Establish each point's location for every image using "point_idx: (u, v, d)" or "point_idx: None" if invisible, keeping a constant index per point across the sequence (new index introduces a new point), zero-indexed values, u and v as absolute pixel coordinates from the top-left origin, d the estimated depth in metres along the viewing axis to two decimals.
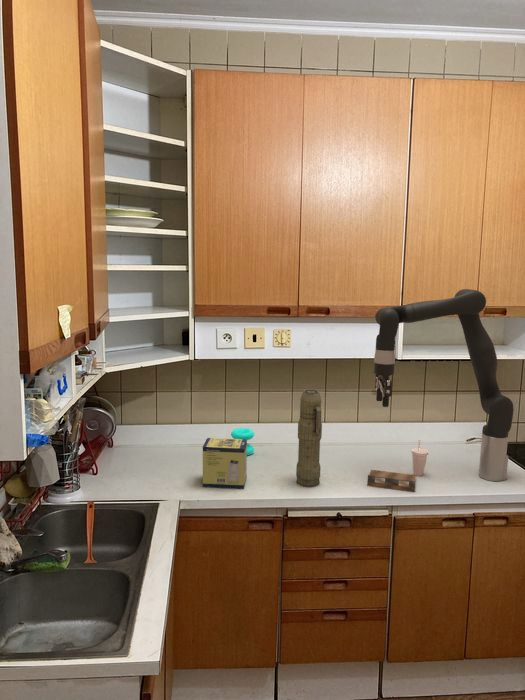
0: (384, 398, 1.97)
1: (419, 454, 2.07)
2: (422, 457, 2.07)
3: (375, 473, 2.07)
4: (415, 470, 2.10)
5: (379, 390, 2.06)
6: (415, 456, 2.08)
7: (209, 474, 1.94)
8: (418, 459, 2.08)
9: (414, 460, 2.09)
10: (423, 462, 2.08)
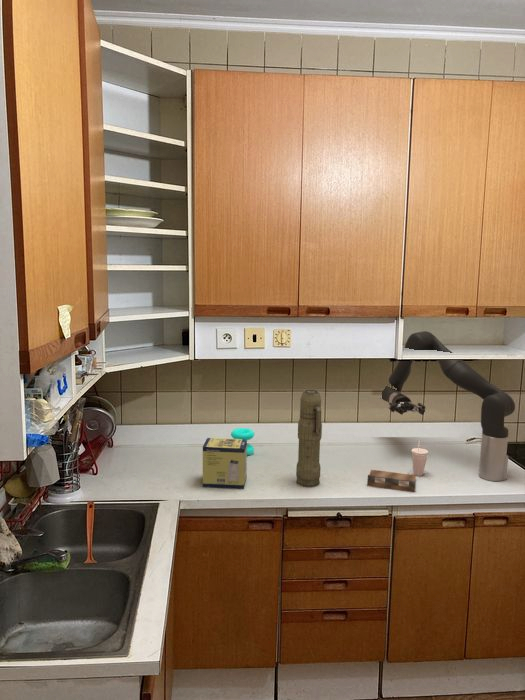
0: (397, 411, 2.22)
1: (419, 454, 2.07)
2: (422, 457, 2.07)
3: (375, 473, 2.07)
4: (415, 470, 2.10)
5: (418, 409, 2.23)
6: (415, 456, 2.08)
7: (209, 474, 1.94)
8: (418, 459, 2.08)
9: (414, 460, 2.09)
10: (423, 462, 2.08)
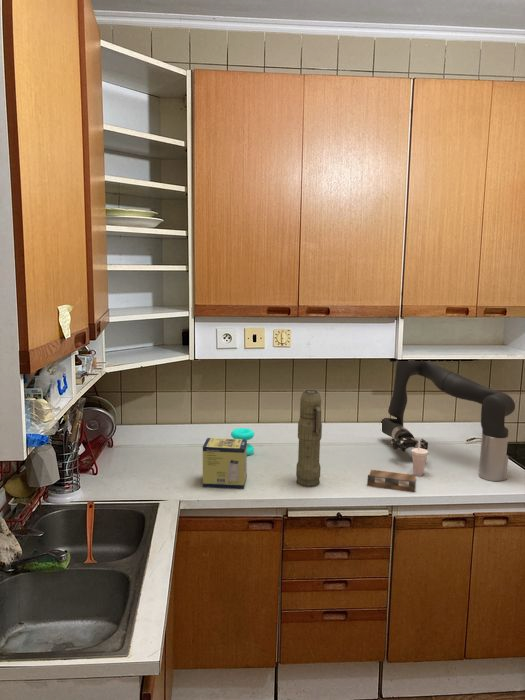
0: (400, 448, 2.19)
1: (419, 454, 2.07)
2: (422, 457, 2.07)
3: (375, 473, 2.07)
4: (415, 470, 2.10)
5: (421, 446, 2.20)
6: (415, 456, 2.08)
7: (209, 474, 1.94)
8: (418, 459, 2.08)
9: (414, 460, 2.09)
10: (423, 462, 2.08)
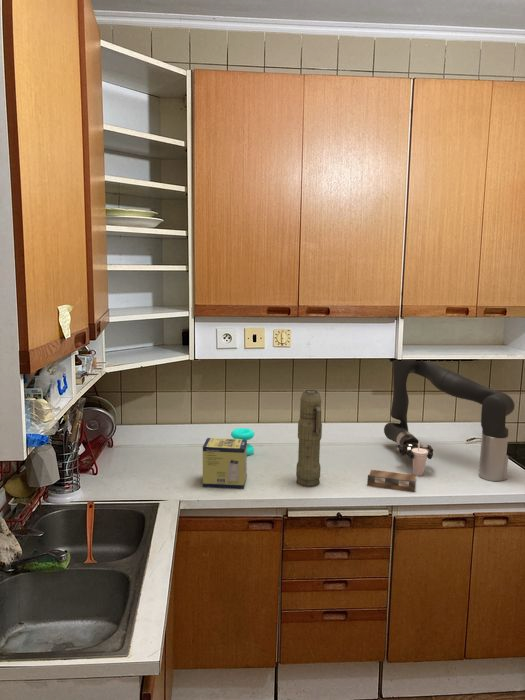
0: (408, 455, 2.11)
1: (419, 454, 2.07)
2: (422, 457, 2.07)
3: (375, 473, 2.07)
4: (415, 470, 2.10)
5: None
6: (415, 456, 2.08)
7: (209, 474, 1.94)
8: (418, 459, 2.08)
9: (414, 460, 2.09)
10: (423, 462, 2.08)
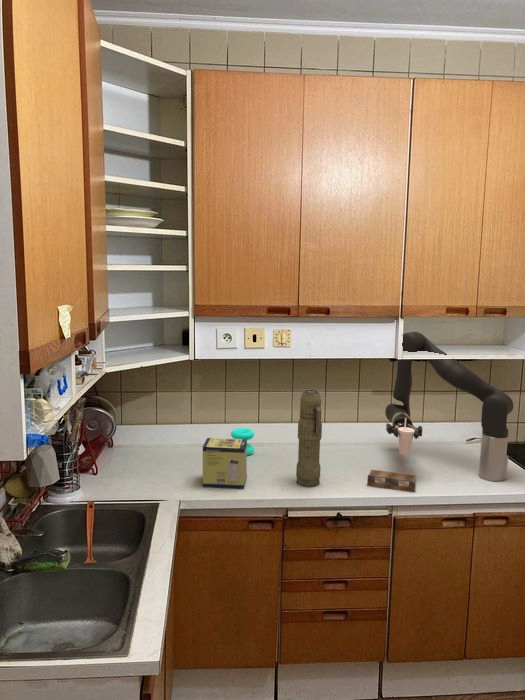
0: (394, 433, 2.05)
1: (404, 432, 2.01)
2: (407, 436, 2.01)
3: (375, 473, 2.07)
4: (400, 449, 2.04)
5: None
6: (400, 434, 2.02)
7: (209, 474, 1.94)
8: (403, 438, 2.02)
9: (399, 439, 2.03)
10: (408, 441, 2.01)
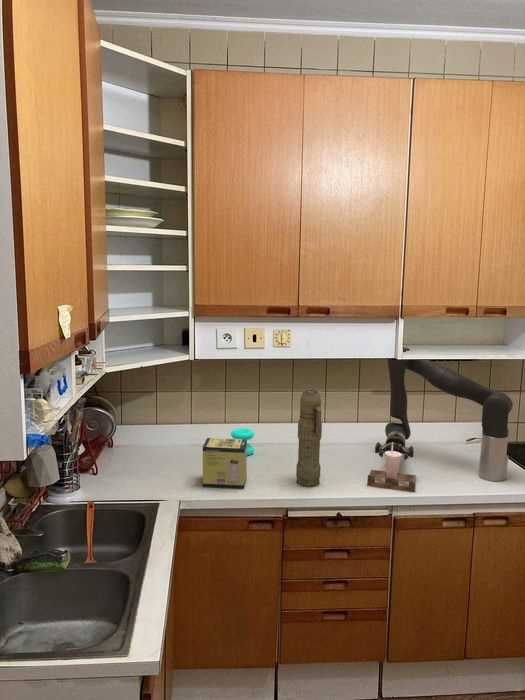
0: None
1: (389, 457, 1.99)
2: (393, 460, 1.99)
3: (375, 473, 2.07)
4: (387, 473, 2.02)
5: None
6: (386, 458, 2.01)
7: (209, 474, 1.94)
8: (389, 462, 2.00)
9: (386, 463, 2.01)
10: (394, 466, 1.99)
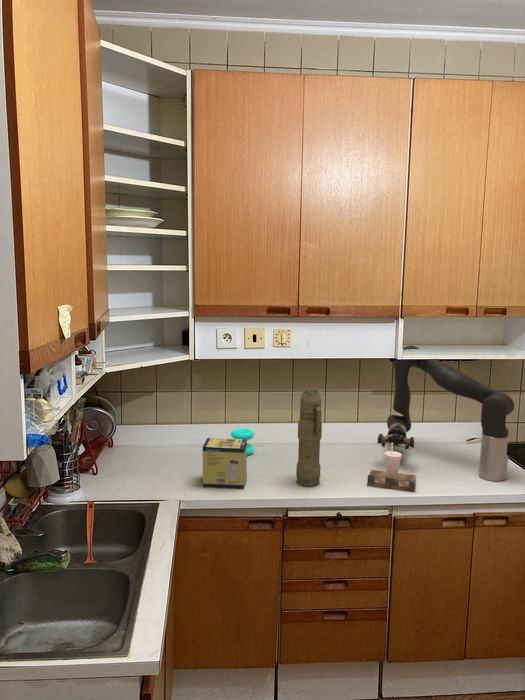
0: None
1: (389, 457, 1.99)
2: (392, 460, 1.99)
3: (375, 473, 2.07)
4: (387, 473, 2.02)
5: None
6: (386, 459, 2.00)
7: (209, 474, 1.94)
8: (389, 462, 2.00)
9: (386, 463, 2.01)
10: (394, 466, 1.99)
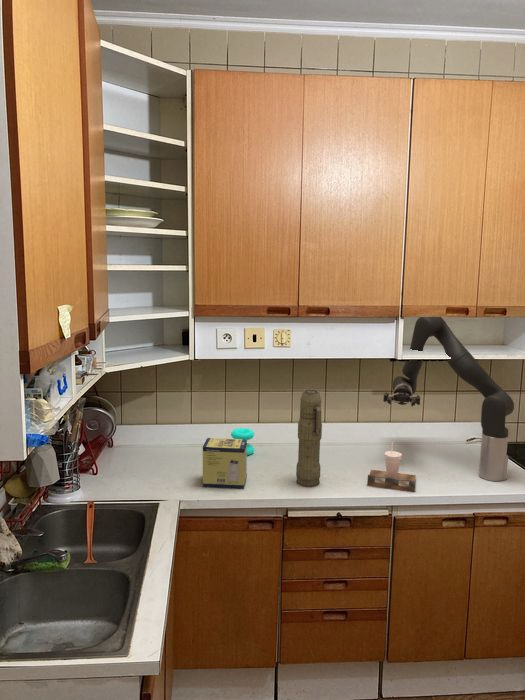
0: None
1: (389, 457, 1.99)
2: (392, 460, 1.99)
3: (375, 473, 2.07)
4: (387, 473, 2.02)
5: None
6: (386, 459, 2.00)
7: (209, 474, 1.94)
8: (389, 462, 2.00)
9: (386, 463, 2.01)
10: (394, 466, 1.99)
